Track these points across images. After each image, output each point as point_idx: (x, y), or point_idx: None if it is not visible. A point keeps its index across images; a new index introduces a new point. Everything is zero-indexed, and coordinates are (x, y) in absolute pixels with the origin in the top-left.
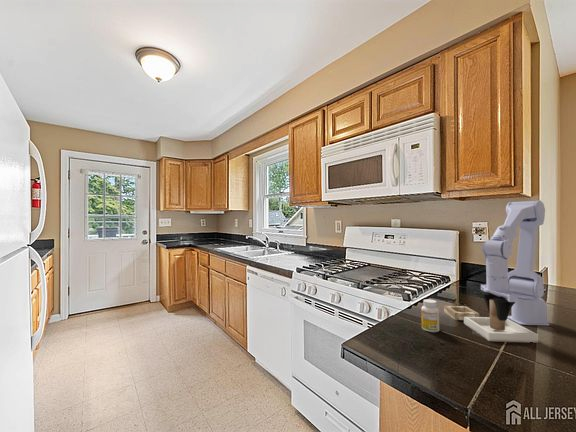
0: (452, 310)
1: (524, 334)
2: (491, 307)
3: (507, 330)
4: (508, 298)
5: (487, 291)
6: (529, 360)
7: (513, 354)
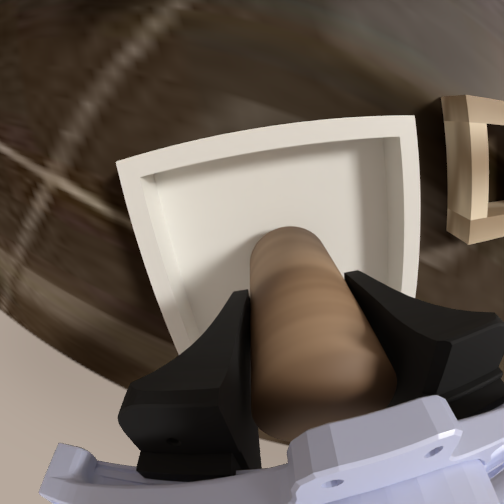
0: (499, 109)
1: (174, 341)
2: (297, 306)
3: None
4: (60, 470)
5: (294, 461)
6: (20, 249)
7: (38, 215)
